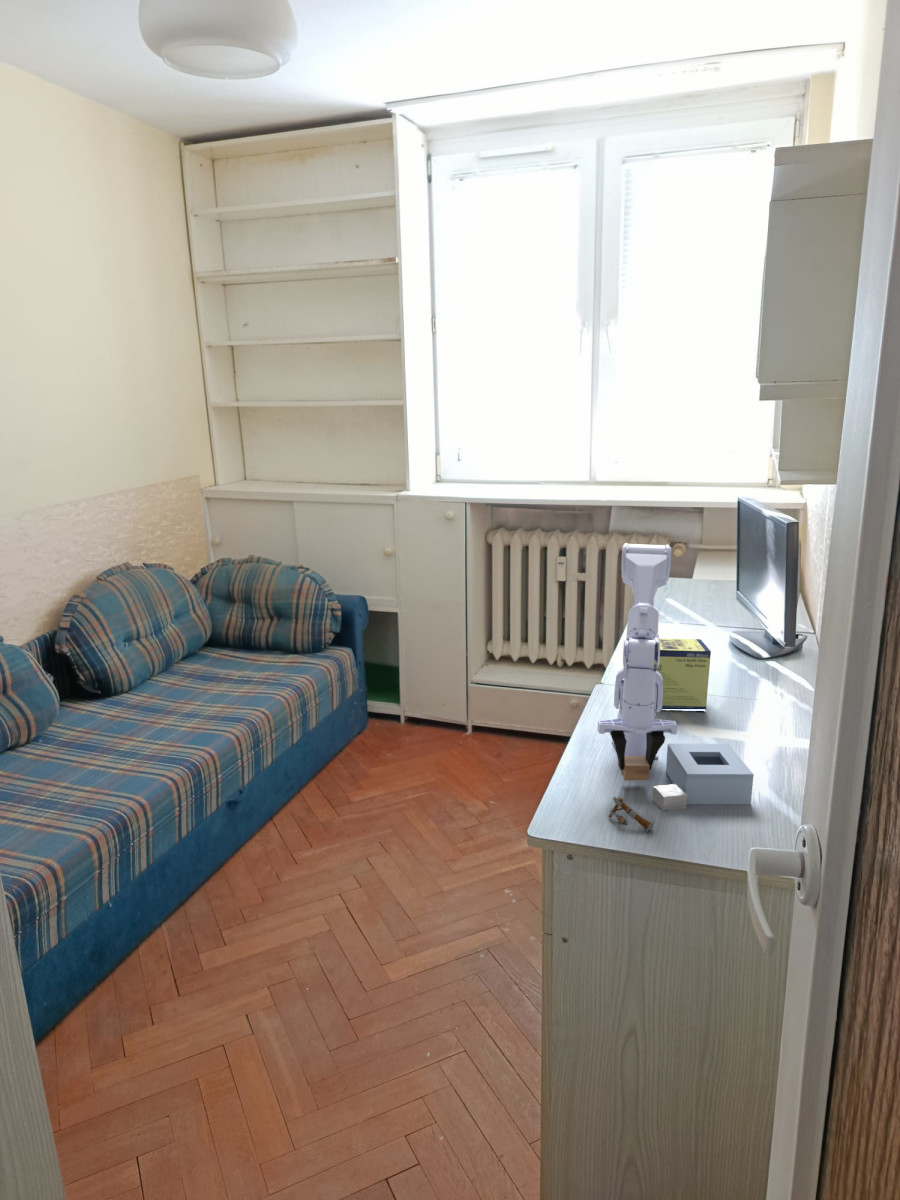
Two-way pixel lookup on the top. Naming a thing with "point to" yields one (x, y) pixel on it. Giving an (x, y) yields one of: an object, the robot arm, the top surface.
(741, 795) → the grey box with hole
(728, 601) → the top surface
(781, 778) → the top surface
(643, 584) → the robot arm
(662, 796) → the white square block
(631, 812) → the wooden post with brackets
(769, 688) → the top surface
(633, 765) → the brown wooden block
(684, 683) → the protein box
